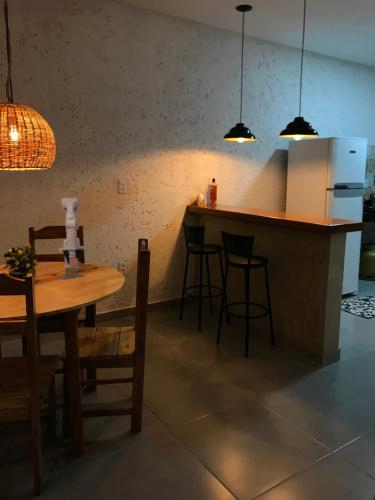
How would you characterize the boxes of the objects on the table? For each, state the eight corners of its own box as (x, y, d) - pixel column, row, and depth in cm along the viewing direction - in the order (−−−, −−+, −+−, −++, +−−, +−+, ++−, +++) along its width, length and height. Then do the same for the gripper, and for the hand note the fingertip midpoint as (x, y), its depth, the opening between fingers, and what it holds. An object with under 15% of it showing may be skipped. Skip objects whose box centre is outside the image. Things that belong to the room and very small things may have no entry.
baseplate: (58, 276, 234) (58, 275, 233) (79, 273, 240) (79, 272, 240) (62, 279, 228) (62, 278, 228) (83, 276, 235) (83, 275, 234)
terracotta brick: (67, 264, 241) (67, 258, 241) (75, 263, 244) (75, 257, 243) (70, 266, 238) (70, 259, 237) (77, 265, 240) (77, 258, 239)
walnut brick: (65, 274, 234) (65, 268, 234) (73, 273, 237) (73, 267, 236) (68, 276, 231) (68, 269, 230) (76, 275, 233) (76, 268, 233)
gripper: (61, 242, 230) (62, 265, 233) (86, 239, 239) (87, 262, 241) (57, 240, 236) (58, 262, 239) (82, 238, 244) (82, 260, 247)
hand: (72, 262), depth 240 cm, fingers closed on terracotta brick, 5 cm apart
